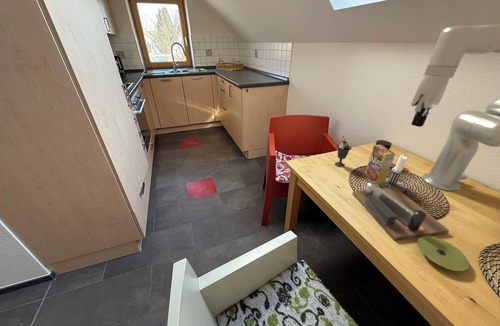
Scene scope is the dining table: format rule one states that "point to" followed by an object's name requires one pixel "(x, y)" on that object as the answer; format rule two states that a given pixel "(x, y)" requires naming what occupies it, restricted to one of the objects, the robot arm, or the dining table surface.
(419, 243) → the green disc
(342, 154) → the sundae
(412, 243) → the dining table surface
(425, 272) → the dining table surface
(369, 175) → the candy box
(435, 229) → the nutcracker bench
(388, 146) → the supplement container
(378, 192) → the lever
